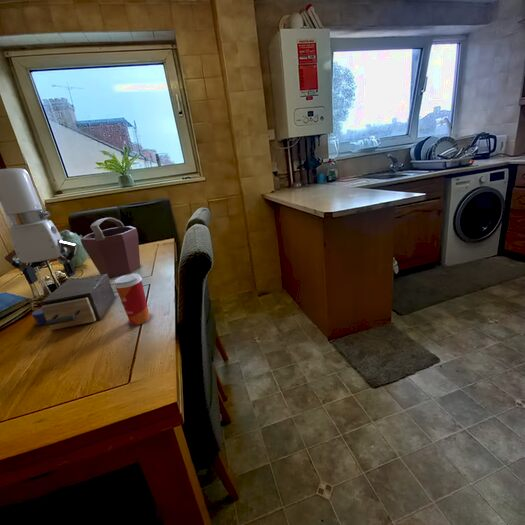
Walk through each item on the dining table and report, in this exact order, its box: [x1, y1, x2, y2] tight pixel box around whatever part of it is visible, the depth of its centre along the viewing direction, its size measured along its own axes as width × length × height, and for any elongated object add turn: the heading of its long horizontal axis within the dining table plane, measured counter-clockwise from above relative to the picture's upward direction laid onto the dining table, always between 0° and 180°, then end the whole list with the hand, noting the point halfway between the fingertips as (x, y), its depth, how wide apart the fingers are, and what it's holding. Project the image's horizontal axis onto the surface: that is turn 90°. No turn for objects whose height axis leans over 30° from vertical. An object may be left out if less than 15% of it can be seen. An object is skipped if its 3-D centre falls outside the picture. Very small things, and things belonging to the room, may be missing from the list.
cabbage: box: [55, 229, 90, 268], centre depth 144 cm, size 16×19×20 cm
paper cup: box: [113, 273, 151, 326], centre depth 82 cm, size 8×8×14 cm
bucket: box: [80, 216, 141, 278], centre depth 128 cm, size 24×22×25 cm
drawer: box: [40, 295, 97, 331], centre depth 88 cm, size 20×12×8 cm, turn 12°
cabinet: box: [41, 274, 116, 322], centre depth 93 cm, size 17×14×10 cm
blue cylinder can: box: [31, 307, 47, 326], centre depth 91 cm, size 6×6×4 cm
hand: (53, 278), depth 78 cm, fingers open, 9 cm apart
